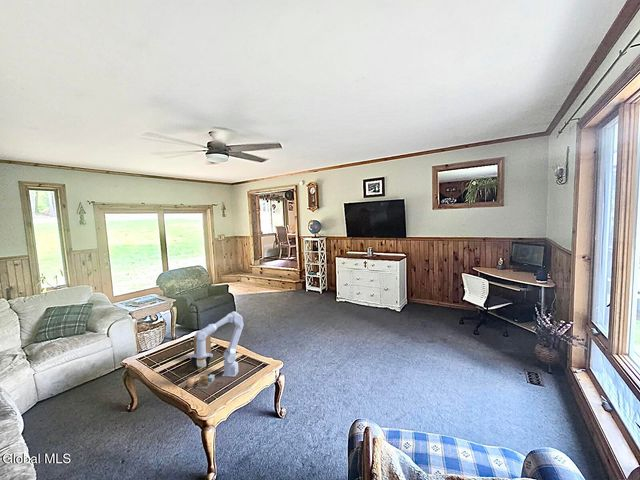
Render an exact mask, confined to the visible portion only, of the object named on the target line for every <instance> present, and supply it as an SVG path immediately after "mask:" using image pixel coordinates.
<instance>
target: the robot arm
mask: <svg viewBox="0 0 640 480" xmlns="http://www.w3.org/2000/svg"><path fill="white" fill-rule="evenodd" d="M227 323H231V324H233V323H234V325H235V327H234V329H233V333H232V336H231V338H230V342H229V344H228V347H227V348H226V349H225V351H224V352H223V354H222V357H223V359H224V361H223V373H222V375H221V377H228V378H229V377H230V378H231V377H234V378H235V377H236V376H237V374H238V373H239V362H238V361H236V354H237V351H236V350H237V346H238V343H239V340H240V337H241V334H242V331H243V328H244V325H245V323H244V318H243V316H242V315H241V314H239V313H238V312H237V311H236V310H235V311H234V310H233V311H231V312H230V313H228V314H227V315H226V316H224V317H223V318H221V319H220V320H218V321H217V322H215V323H209V324H208V325H207V326H206V327H204V328H201V329H200V330H197V331H196V332H195V335H194V336H196V338H197V342H196V346H197V354H194V353H192V354H190V355H189V359H190V362H191V363H192V365H193V368H194V369H195V370H196V369H197V368H198V366H197V358H205V357H207V358H206V366H205V368H206V369H208V368H209V364H210V362H211V359H212V358H213V353H211V354H209V353H206V341H205V339H206V337H207V336H208V335H210V334H211V335H212V334H213V333H215V332H216V331H217V330H218V328H220V327H222V326H223V325H226V324H227Z"/></svg>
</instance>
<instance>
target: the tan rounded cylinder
mask: <svg viewBox="0 0 640 480" xmlns="http://www.w3.org/2000/svg"><path fill="white" fill-rule="evenodd" d="M186 381H187V382H186V383H187V384H186V385H187V388H189V389H191V388H195V387H196V386H195V383H196V382H195V381H196V379H195V377H194V376H190V377H188V378H187V379H186Z"/></svg>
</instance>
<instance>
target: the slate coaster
mask: <svg viewBox="0 0 640 480" xmlns="http://www.w3.org/2000/svg"><path fill="white" fill-rule="evenodd" d="M212 383H213V381H212V382H208V386H205V387H199V383H198V384H197V385H196V386H194V389H198V390H201V389H202V390H207V389H208V388H209V387H210V386H211V384H212Z"/></svg>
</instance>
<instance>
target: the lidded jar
mask: <svg viewBox="0 0 640 480" xmlns="http://www.w3.org/2000/svg"><path fill="white" fill-rule="evenodd" d="M206 358H207V357H205V358H197V368H203V367H206Z"/></svg>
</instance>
